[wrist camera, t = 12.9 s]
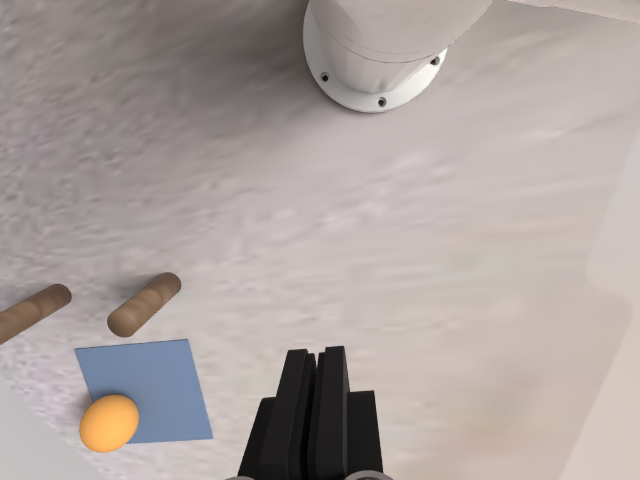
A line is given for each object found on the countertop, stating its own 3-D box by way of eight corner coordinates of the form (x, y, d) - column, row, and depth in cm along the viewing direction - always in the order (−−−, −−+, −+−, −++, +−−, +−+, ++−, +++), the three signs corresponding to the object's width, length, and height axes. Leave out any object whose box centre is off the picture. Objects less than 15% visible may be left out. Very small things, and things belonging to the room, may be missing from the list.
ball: (87, 452, 43) (104, 398, 47) (138, 454, 43) (152, 400, 47) (59, 450, 38) (80, 389, 42) (117, 452, 38) (134, 391, 42)
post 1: (46, 285, 41) (-33, 324, 33) (67, 283, 41) (-7, 322, 33) (53, 306, 42) (-22, 350, 33) (74, 303, 42) (4, 347, 33)
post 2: (155, 273, 40) (103, 311, 32) (178, 271, 40) (132, 309, 31) (161, 295, 41) (112, 338, 32) (183, 293, 41) (139, 336, 32)
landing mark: (75, 348, 44) (74, 349, 43) (187, 339, 42) (187, 340, 42) (109, 443, 47) (108, 444, 47) (213, 437, 46) (212, 438, 46)
